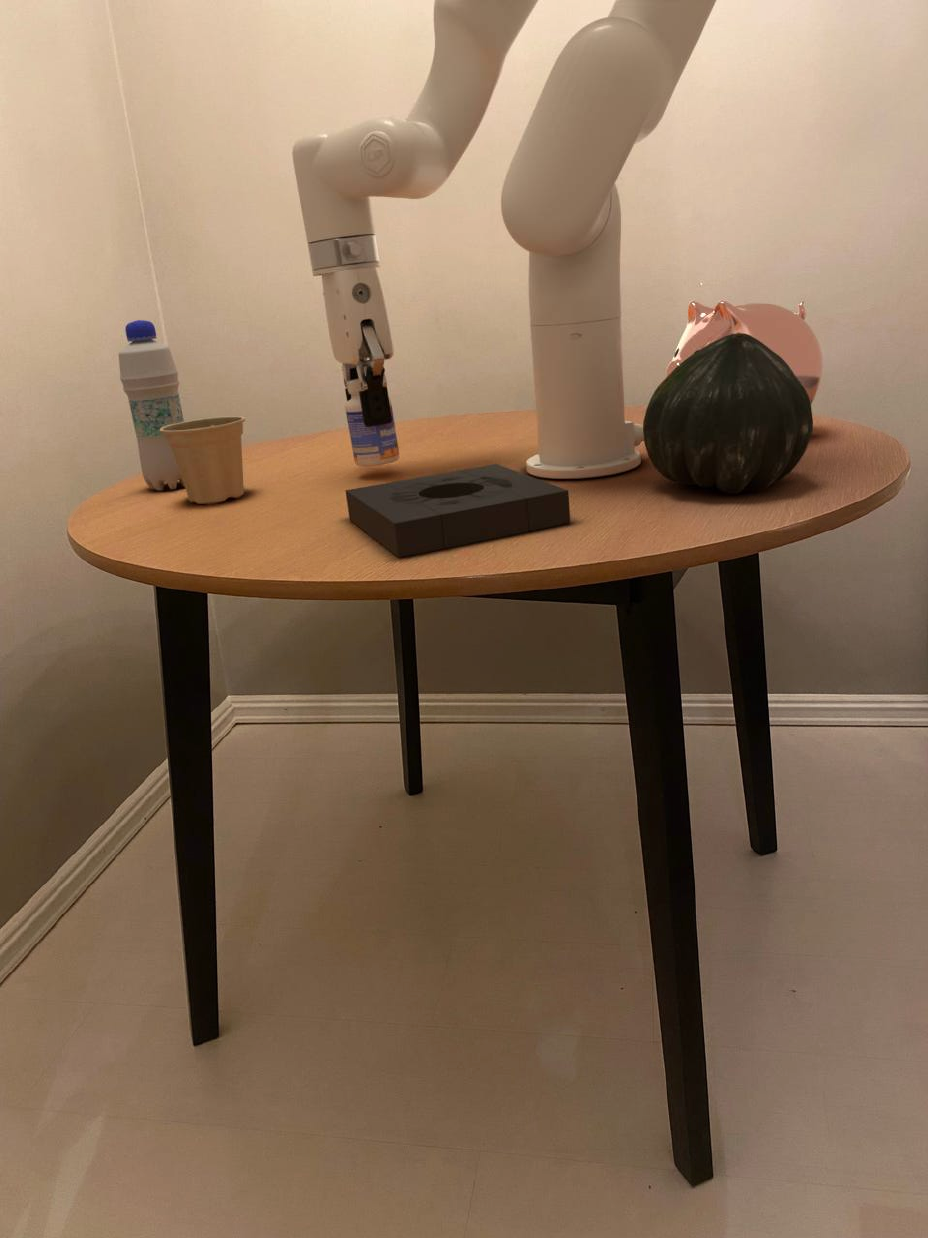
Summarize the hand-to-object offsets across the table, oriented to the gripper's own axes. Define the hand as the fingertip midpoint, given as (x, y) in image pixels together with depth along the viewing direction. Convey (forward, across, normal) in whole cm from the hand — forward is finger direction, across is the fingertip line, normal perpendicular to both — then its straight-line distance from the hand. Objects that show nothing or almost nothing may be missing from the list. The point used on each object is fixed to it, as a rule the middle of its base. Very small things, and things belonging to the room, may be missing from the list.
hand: (370, 420), depth 110 cm
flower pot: (+6, +3, +19) cm, 20 cm away
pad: (+7, -27, +1) cm, 28 cm away
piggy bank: (+8, -15, -40) cm, 44 cm away
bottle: (+6, +15, +23) cm, 28 cm away
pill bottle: (+5, 0, 0) cm, 5 cm away
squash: (+8, -33, -25) cm, 42 cm away
